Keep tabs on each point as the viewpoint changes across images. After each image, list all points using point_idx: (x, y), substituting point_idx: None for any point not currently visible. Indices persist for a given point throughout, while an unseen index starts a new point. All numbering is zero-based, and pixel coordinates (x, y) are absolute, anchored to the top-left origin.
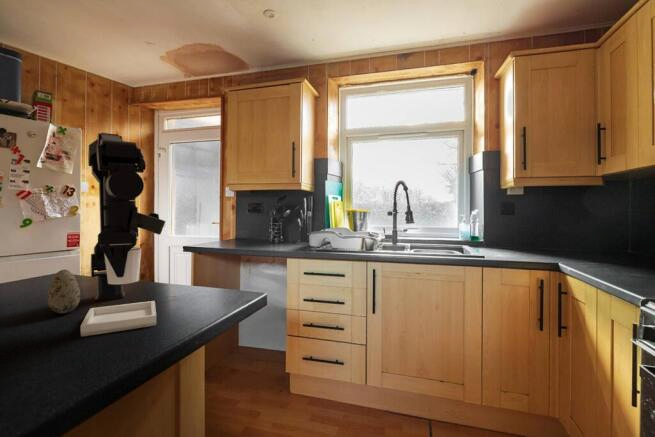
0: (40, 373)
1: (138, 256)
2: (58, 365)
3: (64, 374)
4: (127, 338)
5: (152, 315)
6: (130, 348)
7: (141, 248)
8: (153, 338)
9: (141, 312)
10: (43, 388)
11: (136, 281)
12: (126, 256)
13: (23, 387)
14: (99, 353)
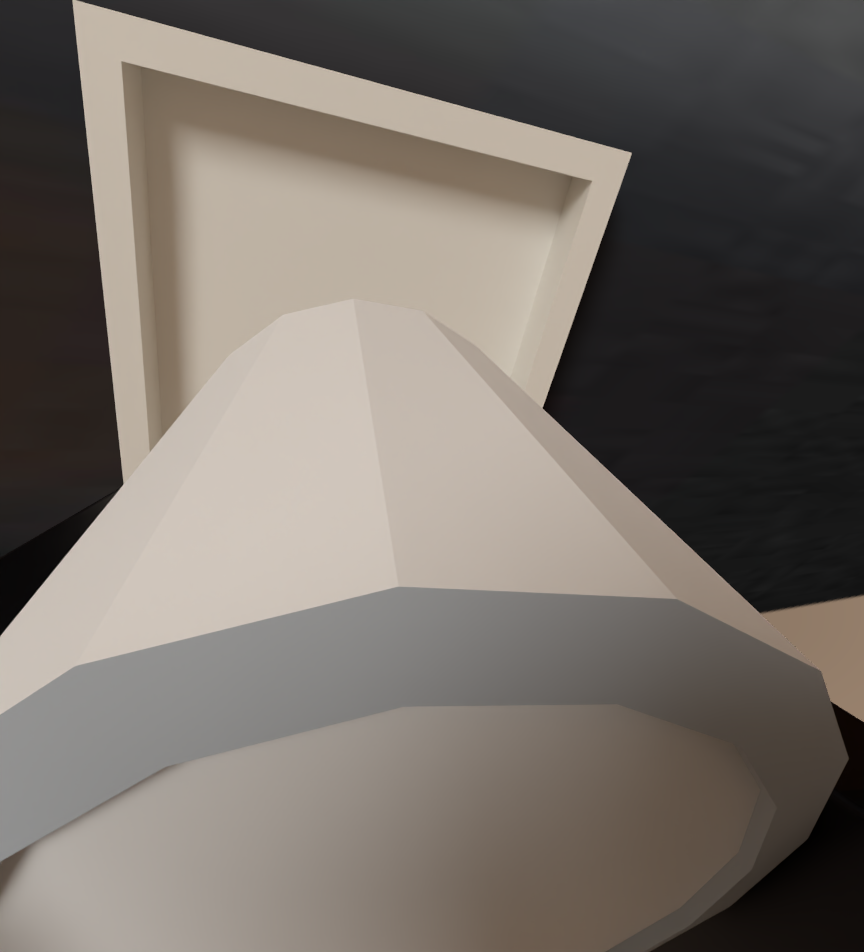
0: (738, 571)
1: (648, 516)
2: (724, 542)
3: (806, 524)
4: (675, 341)
5: (606, 178)
6: (805, 345)
7: (513, 591)
8: (792, 227)
9: (266, 189)
10: (840, 554)
11: (469, 342)
12: (845, 721)
13: (789, 587)
14: (741, 447)
